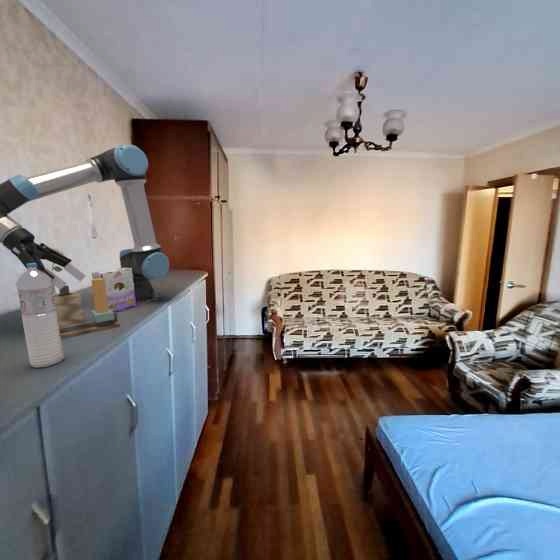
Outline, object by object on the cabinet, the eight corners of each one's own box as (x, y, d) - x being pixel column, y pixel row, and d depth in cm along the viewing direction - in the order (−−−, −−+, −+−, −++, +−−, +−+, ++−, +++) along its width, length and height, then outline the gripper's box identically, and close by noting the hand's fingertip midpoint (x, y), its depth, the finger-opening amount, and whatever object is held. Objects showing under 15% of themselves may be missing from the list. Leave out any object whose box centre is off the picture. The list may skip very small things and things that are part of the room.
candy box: (127, 305, 131) (123, 267, 128) (137, 306, 128) (133, 267, 125) (96, 313, 118) (91, 271, 116) (106, 315, 116) (100, 272, 113)
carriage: (109, 314, 106) (104, 277, 104) (114, 319, 101) (109, 279, 99) (91, 318, 103) (86, 279, 100) (96, 322, 98) (90, 281, 95)
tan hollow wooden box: (80, 317, 114) (76, 291, 112) (84, 321, 108) (80, 294, 106) (53, 321, 109) (49, 294, 107) (56, 327, 103) (52, 298, 101)
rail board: (114, 321, 108) (113, 310, 107) (119, 326, 103) (118, 315, 102) (51, 334, 96) (49, 322, 95) (54, 340, 91) (52, 327, 90)
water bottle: (58, 366, 74) (41, 264, 69) (24, 370, 72) (5, 266, 67) (68, 355, 80) (54, 261, 76) (38, 358, 78) (21, 262, 74)
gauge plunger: (70, 300, 109) (67, 285, 108) (71, 302, 107) (69, 286, 106) (60, 302, 107) (58, 286, 106) (61, 303, 105) (59, 287, 104)
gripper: (29, 242, 104) (82, 283, 110) (-28, 247, 80) (44, 299, 86) (44, 226, 104) (97, 268, 110) (-9, 226, 80) (62, 280, 86)
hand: (74, 282), depth 98 cm, fingers open, 13 cm apart
